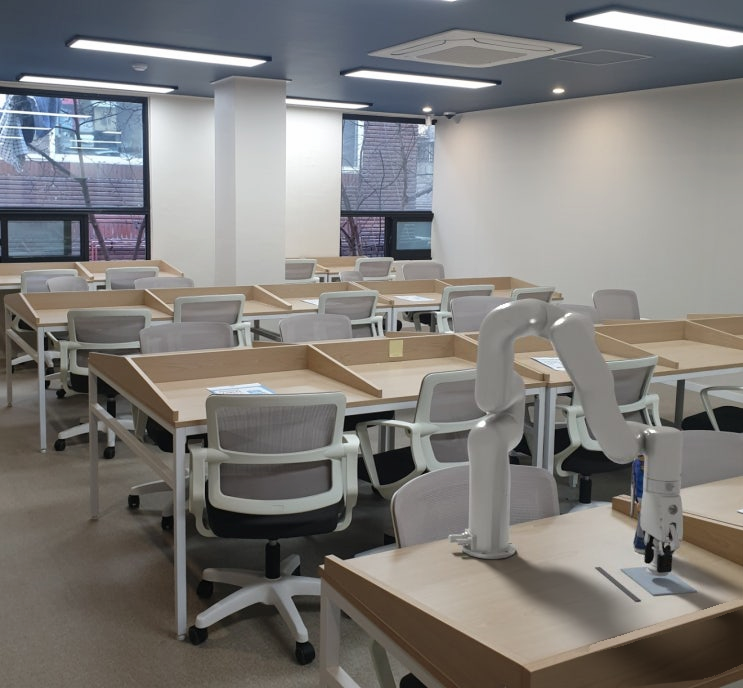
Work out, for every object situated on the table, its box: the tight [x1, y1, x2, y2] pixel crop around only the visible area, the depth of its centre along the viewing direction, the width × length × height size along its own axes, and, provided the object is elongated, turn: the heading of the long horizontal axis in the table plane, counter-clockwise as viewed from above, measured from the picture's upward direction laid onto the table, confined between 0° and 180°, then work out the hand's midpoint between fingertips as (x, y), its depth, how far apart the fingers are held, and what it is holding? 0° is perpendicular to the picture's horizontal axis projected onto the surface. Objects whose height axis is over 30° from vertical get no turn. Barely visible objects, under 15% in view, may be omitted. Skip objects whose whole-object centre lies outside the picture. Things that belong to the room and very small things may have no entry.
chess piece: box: [646, 538, 669, 576], centre depth 184 cm, size 5×5×8 cm
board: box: [594, 566, 698, 602], centre depth 184 cm, size 15×18×1 cm
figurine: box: [630, 455, 645, 554], centre depth 201 cm, size 10×6×30 cm, turn 168°
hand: (657, 566), depth 184 cm, fingers closed on chess piece, 4 cm apart
